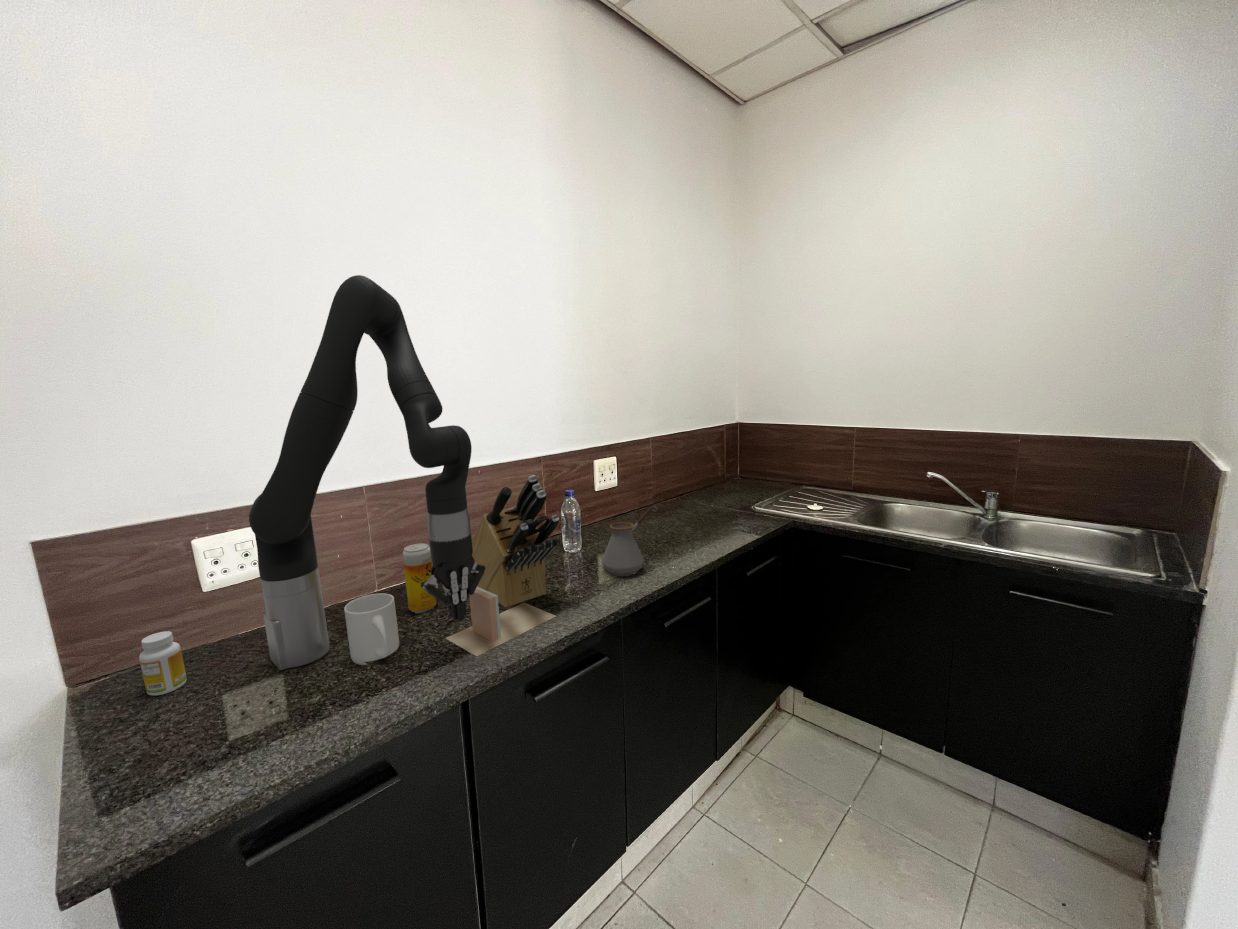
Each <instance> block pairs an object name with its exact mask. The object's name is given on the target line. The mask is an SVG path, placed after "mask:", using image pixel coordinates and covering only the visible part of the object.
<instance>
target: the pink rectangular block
mask: <svg viewBox="0 0 1238 929" xmlns="http://www.w3.org/2000/svg"><path fill="white" fill-rule="evenodd" d="M468 597H469V606H470V608H469V609H470V616H471V617H470V618H471V626H472V630H473V632H475V633H477V634H479V635H481V636H483V637H485V638H486V639H488V640H490V641H492V642H493V641H495V640H497V639H500V638H501V631H500V618H499V614H500V609H499V603H498V596H497V595H495V594H493V593H490V592H488V591H486V590H483V589H481V588H479V587H477V588H476V590H475V592H474V594H472V595H469V596H468Z"/></svg>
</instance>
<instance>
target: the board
mask: <svg viewBox="0 0 1238 929" xmlns="http://www.w3.org/2000/svg"><path fill="white" fill-rule="evenodd" d="M555 617H557V616H556V615H554V614H553V613H549V612H547V611H545V610H543V609H540V608H538V607H535V606H533V605H531V604H528V603H526V602H521V603H519V604H518V605H517V604H516V605H515V606H514V607H510V608H508V609H507V610H504V611H502V612H499V618H500V631H501V638H500V639H497V640H495V641H493V642H492V641H490V640H488V639H486V638H485V637H483V636H481V635H479V634H477V633H475V632H473V630H472V625H471V626H469V627H467V628H464V629H462V630H460V631H457V632H456V633H454V634H451V635H449V636H447V637H445V639H446V640H447V641H450V643H453V644H454V645H456V646H457V647H459V648H460V649H463V650H464V651H466V652H468V653H470V654H471V655H473V656H475V657H479V656H480V655H483V654H484V653H487V652H489V651H490V650H492V649H495V648H496V647H498V646H500V645H502V644H505V643H506V642H508V641H511V640H513V639H514V638H516V637H519V636H520V635H522V634H524V633H526V632H528V631H529V630H532V629H534V628H535V627H539V626H540V625H541V624H544V623H546V622H548V621H550V620H552V619H554V618H555Z"/></svg>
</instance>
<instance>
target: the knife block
mask: <svg viewBox="0 0 1238 929" xmlns="http://www.w3.org/2000/svg"><path fill="white" fill-rule="evenodd" d="M511 496H512V490H511V488H510V487H507V486H505V487H502V489H501V490H500V491H499V492H498V494H497V496H496V499H495V501H494V504H493V507H492V511H490V512H488V513H484V514H483V516H482V517H481V520H480V522H479V523H478V526H477V529H476V531H475V533H474V535H473V537H472V548H473V554H472V557H473V558H474V560H475V563H478V564H481V565H483V566H485V571H484V573H483V575H482V577H481V579H480V581H479V583H478V585H477V587H479V588H481V589H483V590H486V591H488V592H490V593H493V594H495V595H497V596H498V604H500V605H502V607H504V608H510V607H512V606H514V605H515V606H516V605H517V604H518V605H519V604H522V603H525V602H526V601H528V600H529V601H530V600H532V599H535V598H537V597H540V596H542V595H547V582H546V581H547V580H546V567H545V559H546V558H547V557H549V555H550V554H552V552H554V549H555V548H556V547H558V546H559V545H560V544H561V540H560V539H559V538H553V539H552V540H547V539H548V538H549V537H550V535H551V534H553V532H554V531H555V530H556V528H557V526H558V525H559V522H560V517H559V515H557V514H553V515H552V516H550V517H548V516H547V515H541V516H539V517H538V518H536V517H537V516H538V515H539V514H540V512H541V511H542V509H543V507H544V505H545V503H546V500H547V492H545V490H543V487H542V484H541V483H539V479H538V477H537V475H535V474H532V475H529V476H528V477H527V481H526V483H525V484H524V486H523V487H522V488H521V491H520V493H519V495H518V498H517V501H516V504H515V505H514V506H512V507H508V508H505V506H506V504H507V503H508V502H509V499H510V497H511ZM504 508H505V509H504ZM543 522H544V523H543ZM541 523H543V524H542V525H540V524H541ZM539 525H540V526H539ZM538 526H539V527H538ZM546 540H547V541H546Z"/></svg>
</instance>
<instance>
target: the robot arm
mask: <svg viewBox="0 0 1238 929" xmlns="http://www.w3.org/2000/svg"><path fill="white" fill-rule="evenodd" d="M327 315H328V316H327V319H326V322H325V326H324V330H323V333H322V336H321V339H320V343H319V345H318V348H317V351H316V352H315V353H316V354H315V356H314V359H313V361H312V364H311V366H310V369H309V372H308V373H307V377H306V379H305V381H304V383H303V385H302V387H301V390H300V392H299V393H298V396H297V398H296V401H295V403H294V406H293V408H292V410H291V413H290V417H289V420H288V423H287V426H286V428H285V429H286V430H285V433H284V437H283V441H282V446H281V450H280V454H279V457H278V460H277V463H276V465H275V467H274V469H273V471H272V474H271V476H270V478H269V480H268V481H267V483H266V485H265V487H264V489H263V490H262V493H261V494H259V495H258V496H257V497H256V498H255V500H254V502H253V503H252V506H251V508H250V511H249V514H248V515H249V516H248V521H249V522H248V523H249V527H250V529H251V531H252V532H253V534H254V536H255V542H256V543H255V544H256V550H257V566H258V572H259V578H260V583H261V584H260V585H261V589H262V596H263V603H264V610H265V613H263V622H264V628H265V633H266V639H267V646H268V651H269V657H270V660H271V662H272V663H273V664H274V666H276V667H277V668H278V670H279V671H283V670H286V669H290V668H297V667H301V666H304V665H308V664H311V663H313V662H316V661H317V660H319V659H322V657H324V656H325V655H326V654H327V653H328V652H329V651H330V639H329V636H328V627H327V621H326V613H325V608H324V607H325V605H324V598H323V593H322V592H323V591H322V586H321V585H322V584H321V578H320V572H319V564H318V557H317V549H316V548H317V547H316V542H315V535H314V529H313V521H312V510H313V508H314V507H313V506H314V503H315V500H316V499H315V498H316V497H317V492H318V490H319V487H320V486H319V485H320V483H321V481H322V478H323V476H324V473H325V471H326V469H327V468H328V466H329V464H330V462H331V461H332V459H333V456H334V455H335V453H336V451H337V449H338V447H339V445H340V443H341V441H342V440H343V436H344V435H345V433H346V431H347V428H348V427H349V424H350V421H351V419H352V417H353V415H354V414H353V413H354V411H355V409H356V406H357V402H358V393H359V391H358V380H357V365H356V364H357V355H358V350H359V346H360V345H361V344H360V343H361V341H362V339H363V337H364V334H365V335H368V337H369V338H371V339H372V341H373V342H374V343H375V345H376V346H377V347H378V349H379V350H380V352H381V354H382V355H383V357H384V361H385V364H386V376H387V382H388V387H389V390H390V392H391V394H392V397H393V399H394V401H395V402H396V405H397V406H398V408H399V411H400V412H401V415H402V417H403V420H404V424H405V429H406V434H407V442H408V449H409V453H410V455H411V458H412V459H413V460H414V462H415V463H416V464H417V465H419V466H420V467H422V468H426V469H434V468H438V467H443V468H442V471H441V474H439V475H438V476H437V477H435V478H433V479H431V480H429V481H428V482H427V483H426V484H425V490H424V491H425V499H426V500H425V501H426V508H427V535H428V540H429V541H428V543H429V544H428V545H429V547H430V553H431V560H432V564H433V566H432V569H431V577H430V578H429V579H428V580H427V582H422V583H421V588H423V589H424V590H425V591H426V592H428V593H429V594H430V595H431V596H433V597H434V598H435V599H436V601H438V602H440V603H442V604H444V605H446V606H448V613H449V614H448V616H449V617H450V619H451V620H453V621H454V622H456V623H458V622H460V621H463V620H465V618H466V616H467V605H466V604H467V603H466V600H467V598H468V597H469V595H472V594H474V592H475V590H476V588H477V585H478V583H479V581H480V579H481V577H482V575H483V573H484V571H485V566H483V565H481V564H478V563H475V560H474V558H473V557H472V554H473V548H472V539H473V537H472V529H471V527H472V526H471V518H470V515H469V510H468V500H467V491H466V488H467V487H466V486H467V480H468V475H469V468H470V463H471V458H472V441H471V439H470V436H469V434H468V432H467V431H466V430H465V428H463V427H461V426H460V425H454V424H452V425H445V426H438V427H437V426H436V427H431V425H430V424H431V423H433V422H435V421H436V420H437V419H439V417H440V416H442V413H443V405H442V402H441V400H440V398H439V396H438V395H437V392H436V390H435V389H434V387H433V384H432V383H431V381H430V379H429V378H428V376H427V373H426V372H425V370H424V368H423V366H422V364H421V361H420V359H419V357H418V354H417V352H416V350H415V347H414V344H413V342H412V338H411V336H410V332H409V329H408V326H407V323H406V320H405V319H406V318H405V316H404V314H403V310H402V308H401V305H400V303H399V302H398V301H397V299H396V298H395V297H394V296H393V295H392V294H391V293H389V292H388V291H386V290H385V289H384V288H382V286H381V285H379V284H378V283H376V282H375V281H374V280H372V279H371V278H369V277H367V276H365V275H361V274H358V275H352V276H350V277H348V278H347V279H345V280H344V281H343V282H342V283H341V284H340V285H339V287H338V288H337V290H336V291H335V294H334V296H333V300H332V302H331V304H330V309H329V311H328V314H327ZM438 583H439V584H440V585H441V586H442V589H443V591H444V593H443V592H441V591H440V589H438V588H439V584H438Z"/></svg>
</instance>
